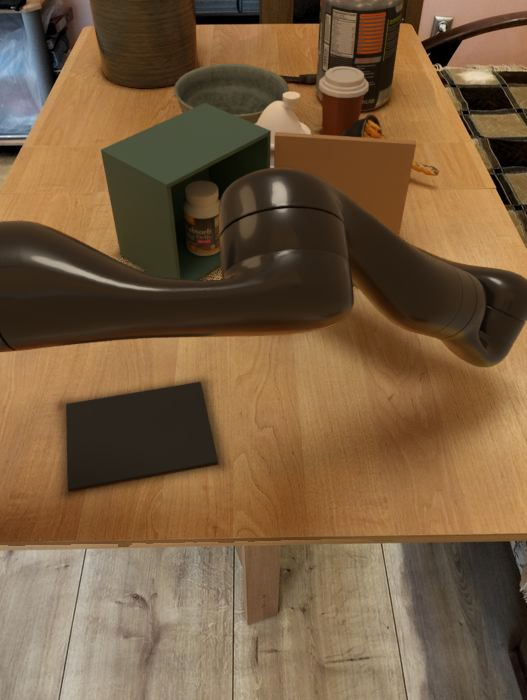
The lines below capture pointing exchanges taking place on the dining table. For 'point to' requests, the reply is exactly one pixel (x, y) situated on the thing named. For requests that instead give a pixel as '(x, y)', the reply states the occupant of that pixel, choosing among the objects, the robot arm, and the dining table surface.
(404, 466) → the dining table surface
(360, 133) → the fried food
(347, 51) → the supplement tub
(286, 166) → the cupboard door
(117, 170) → the cupboard
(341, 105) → the coffee cup
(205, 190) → the pill bottle
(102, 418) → the mat
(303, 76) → the knife
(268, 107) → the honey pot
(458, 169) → the dining table surface
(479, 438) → the dining table surface
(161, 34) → the planter
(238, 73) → the bowl
